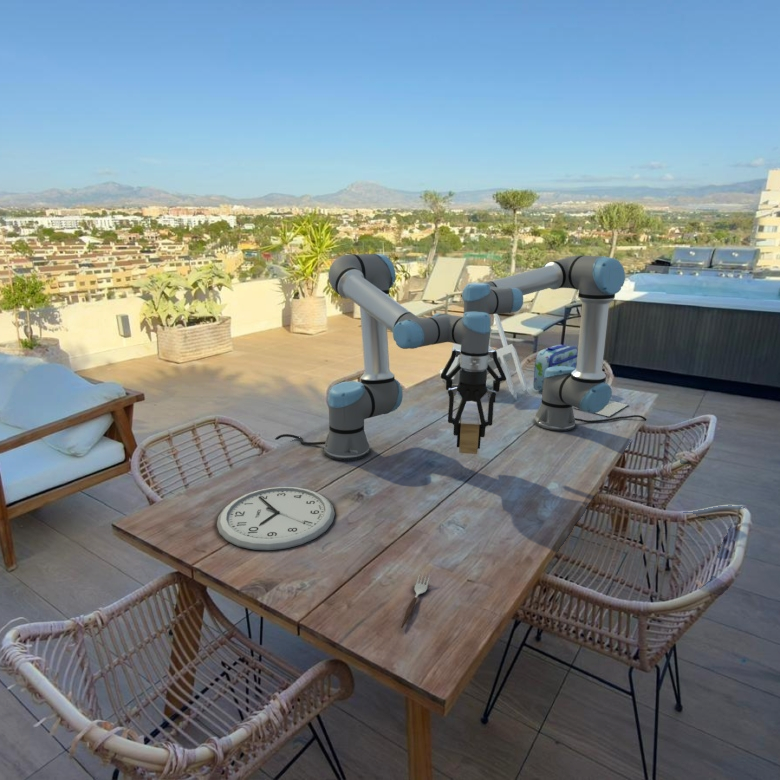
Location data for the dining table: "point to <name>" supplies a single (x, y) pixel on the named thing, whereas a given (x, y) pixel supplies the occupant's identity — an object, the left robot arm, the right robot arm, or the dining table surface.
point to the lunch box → (553, 361)
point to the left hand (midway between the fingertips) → (468, 446)
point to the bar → (469, 429)
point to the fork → (419, 589)
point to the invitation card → (611, 408)
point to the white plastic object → (502, 356)
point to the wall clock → (275, 518)
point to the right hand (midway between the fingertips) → (471, 400)
